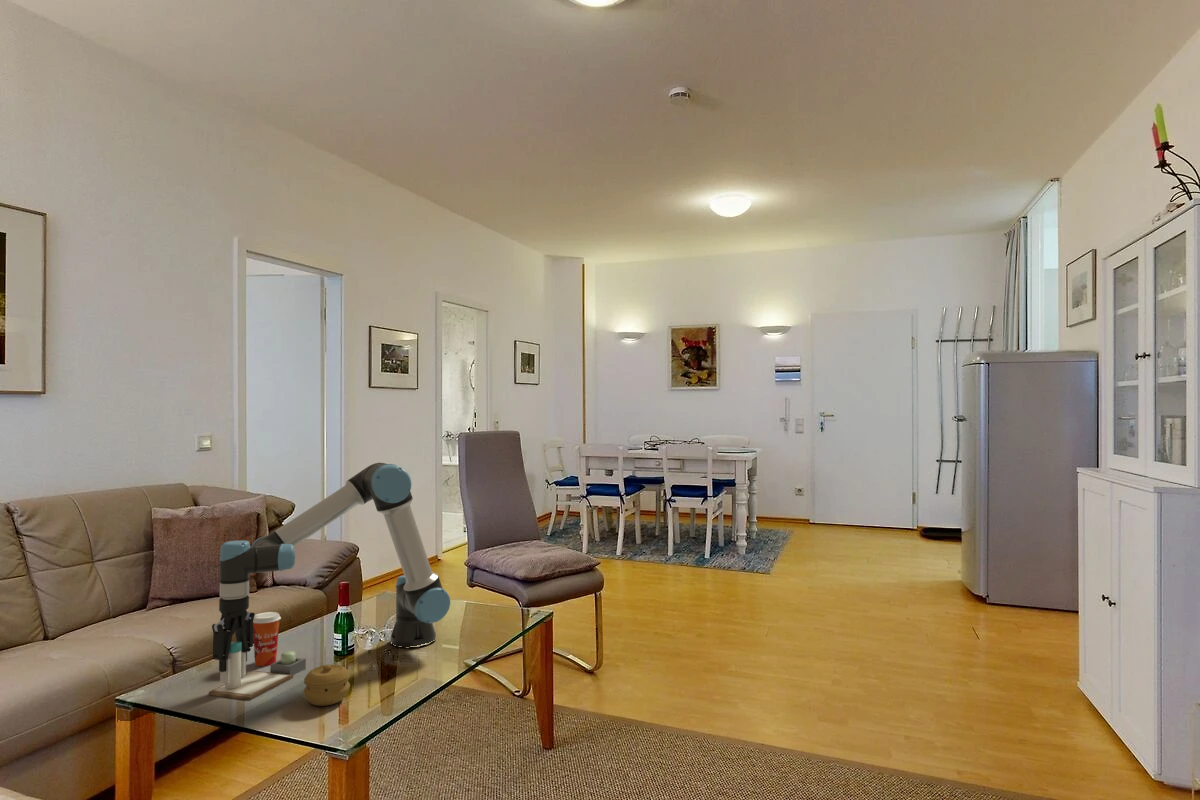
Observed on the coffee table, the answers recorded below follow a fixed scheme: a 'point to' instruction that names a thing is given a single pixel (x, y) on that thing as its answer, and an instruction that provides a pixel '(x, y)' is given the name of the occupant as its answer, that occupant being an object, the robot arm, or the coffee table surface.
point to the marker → (235, 665)
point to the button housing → (288, 667)
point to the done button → (288, 657)
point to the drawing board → (252, 685)
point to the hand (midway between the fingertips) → (233, 678)
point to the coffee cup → (265, 637)
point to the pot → (326, 684)
